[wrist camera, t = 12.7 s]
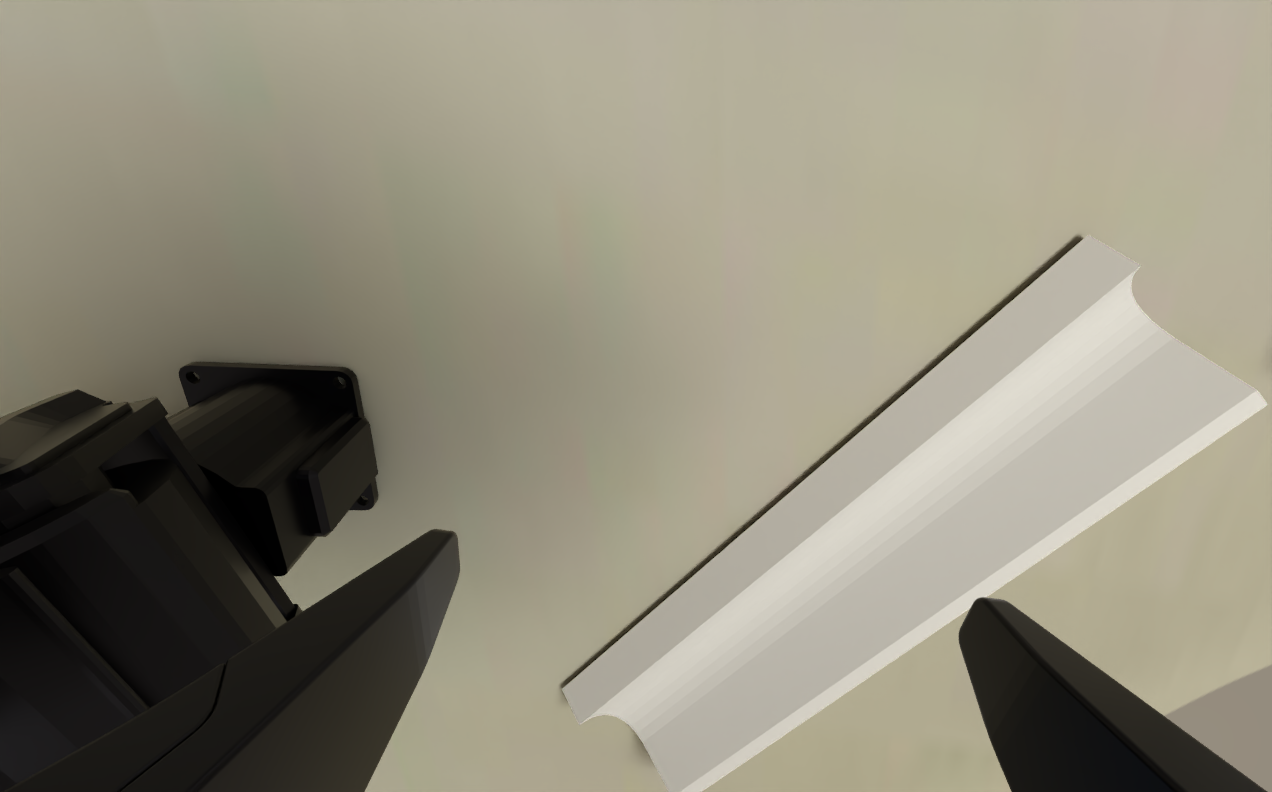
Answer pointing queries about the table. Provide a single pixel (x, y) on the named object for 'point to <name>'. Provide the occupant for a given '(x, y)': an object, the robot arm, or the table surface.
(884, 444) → the crown molding
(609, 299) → the table surface
